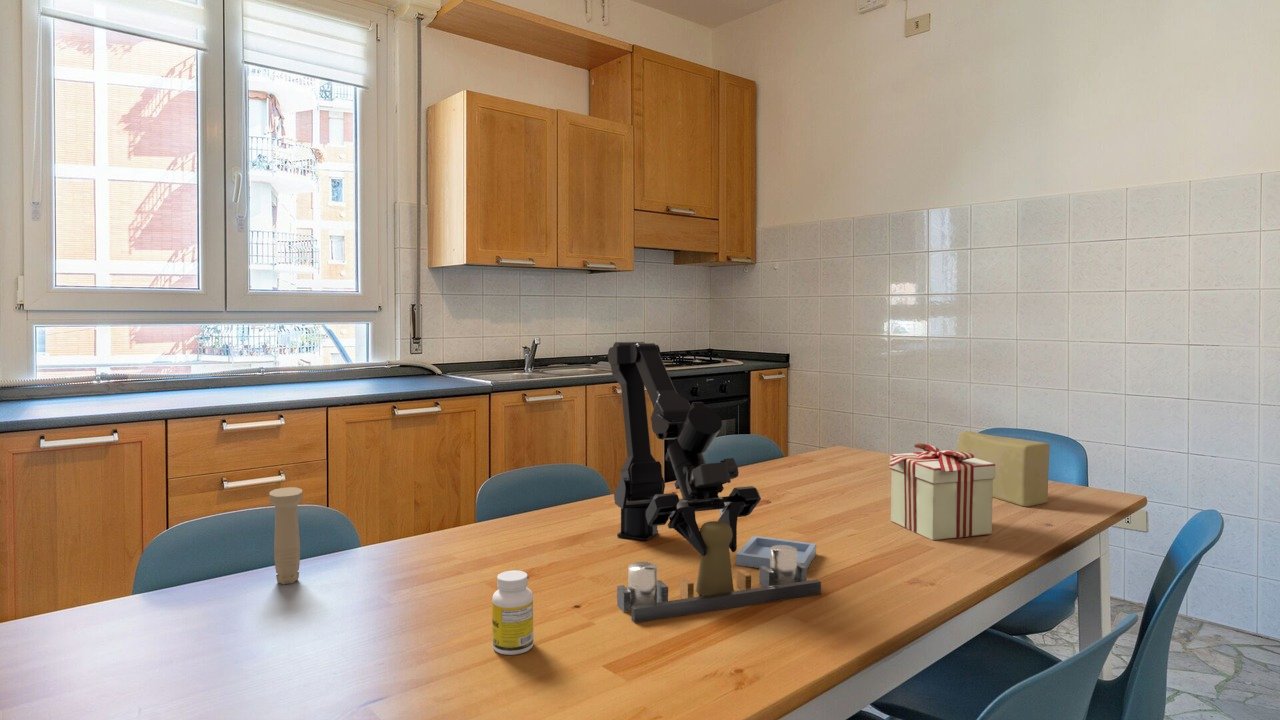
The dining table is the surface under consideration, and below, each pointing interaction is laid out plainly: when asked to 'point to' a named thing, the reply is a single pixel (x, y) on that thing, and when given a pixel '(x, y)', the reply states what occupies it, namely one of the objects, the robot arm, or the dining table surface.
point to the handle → (286, 533)
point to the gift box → (942, 493)
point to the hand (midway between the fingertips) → (719, 552)
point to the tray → (759, 551)
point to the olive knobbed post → (715, 559)
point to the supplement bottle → (512, 614)
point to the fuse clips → (776, 585)
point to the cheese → (1012, 466)
